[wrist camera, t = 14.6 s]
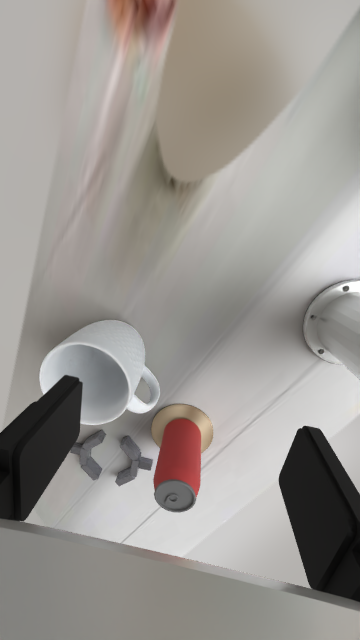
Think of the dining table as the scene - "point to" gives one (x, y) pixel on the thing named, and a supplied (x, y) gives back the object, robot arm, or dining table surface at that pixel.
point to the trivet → (182, 413)
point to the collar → (95, 469)
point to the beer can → (178, 466)
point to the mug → (102, 370)
